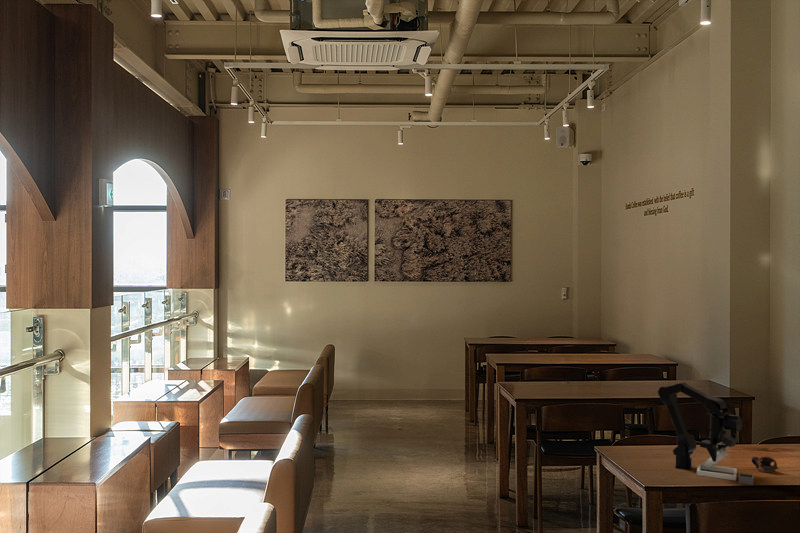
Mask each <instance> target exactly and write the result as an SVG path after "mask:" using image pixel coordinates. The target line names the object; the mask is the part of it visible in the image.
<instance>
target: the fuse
mask: <svg viewBox="0 0 800 533" xmlns="http://www.w3.org/2000/svg"><path fill="white" fill-rule="evenodd" d="M729 454H730V453H729V451H728V449H727V448H721V449H720V450H719V451H718V452H717V457H716V462H713V460H712V458H711V456H710V457H708V458H707V459H706V460H704V461H703V462H702V464H703V465H704V467H705V468H706V469H711V468H712V467H713V466H716V465H717V464H718V463H719V462H720V461H722V460H723V459H725V458H726V457H727V456H729Z"/></svg>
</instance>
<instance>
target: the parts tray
mask: <svg viewBox="0 0 800 533" xmlns="http://www.w3.org/2000/svg"><path fill="white" fill-rule="evenodd" d="M707 470H708V471H707ZM737 472H738V470H737V467H736V468H735V467H728V466H718V465H714V466H713V467H712V468H711V469H706V468H705V467H704V465H703V463H698V466H697V468H696V475H697V476H701V477H707V478H708V477H709V478H715V479H723V480H730V481H737Z"/></svg>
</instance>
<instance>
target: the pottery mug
mask: <svg viewBox="0 0 800 533" xmlns="http://www.w3.org/2000/svg"><path fill="white" fill-rule="evenodd" d="M751 463H752V464H753V465H754V466H755V468H756V469H759V470H758V472H759V473H773V472H775V471H776V470H778V469H779V468H778V466H777V465H778V464H777V461H776V460H775V458H773V457H770V456H765V455H764V456H761V457H757V456H753V457H752V458H751ZM772 463H773V465H772Z"/></svg>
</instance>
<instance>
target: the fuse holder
mask: <svg viewBox="0 0 800 533" xmlns="http://www.w3.org/2000/svg"><path fill="white" fill-rule="evenodd" d="M738 484H742V485H749V486H754V474H752V473H751V474H750V473H749V474H748V473H743V472H739V473H738Z"/></svg>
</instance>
